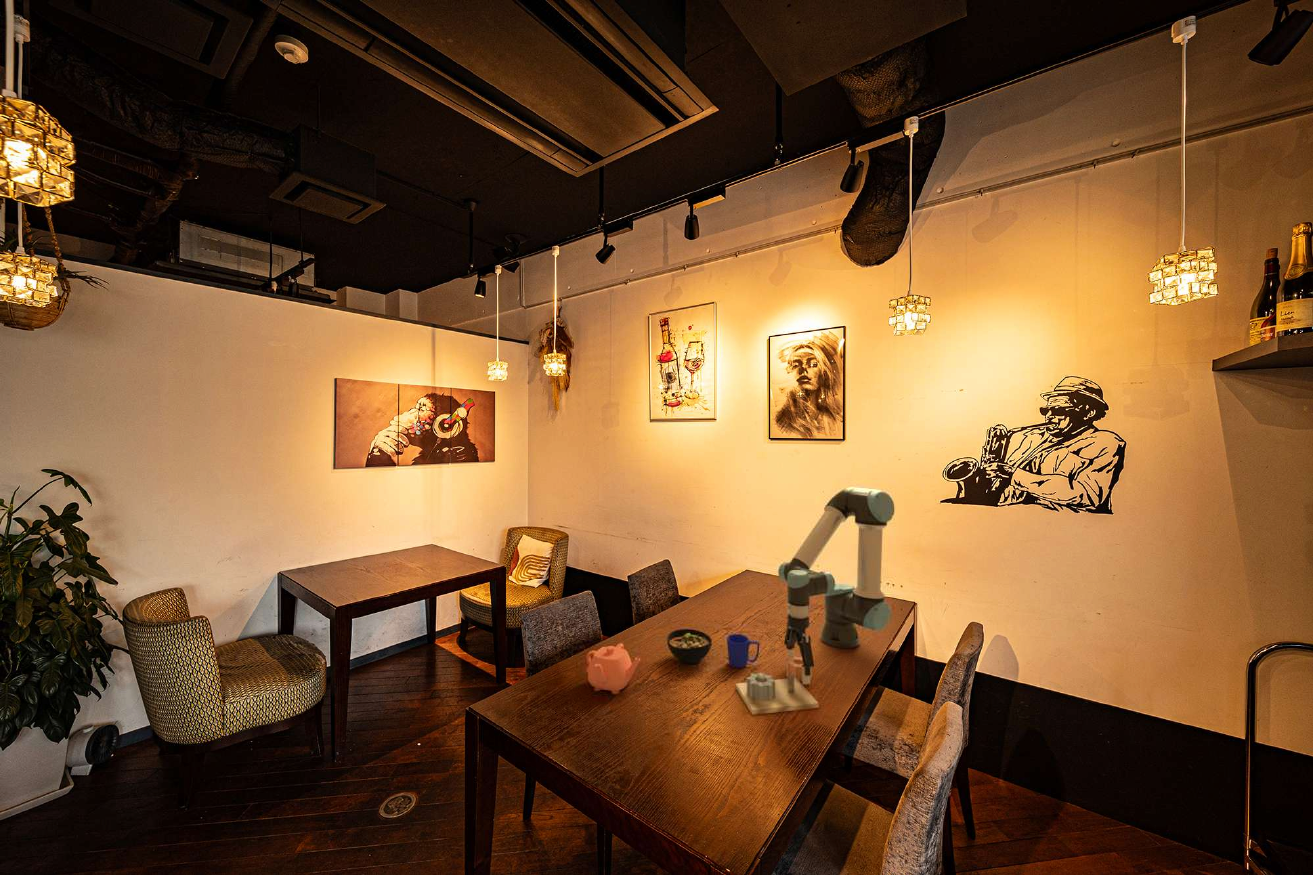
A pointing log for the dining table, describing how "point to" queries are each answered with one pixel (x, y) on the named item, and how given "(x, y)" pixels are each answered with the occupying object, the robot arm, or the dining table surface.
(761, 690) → the gear
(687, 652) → the bowl
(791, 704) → the board
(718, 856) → the dining table surface
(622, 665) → the teapot
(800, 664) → the gear
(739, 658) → the mug
